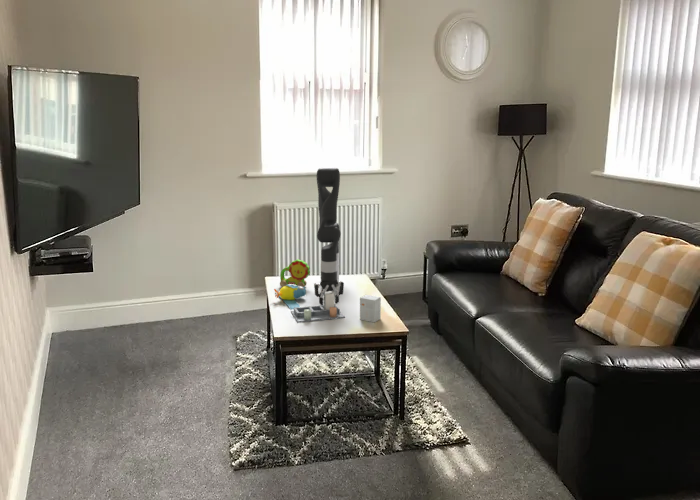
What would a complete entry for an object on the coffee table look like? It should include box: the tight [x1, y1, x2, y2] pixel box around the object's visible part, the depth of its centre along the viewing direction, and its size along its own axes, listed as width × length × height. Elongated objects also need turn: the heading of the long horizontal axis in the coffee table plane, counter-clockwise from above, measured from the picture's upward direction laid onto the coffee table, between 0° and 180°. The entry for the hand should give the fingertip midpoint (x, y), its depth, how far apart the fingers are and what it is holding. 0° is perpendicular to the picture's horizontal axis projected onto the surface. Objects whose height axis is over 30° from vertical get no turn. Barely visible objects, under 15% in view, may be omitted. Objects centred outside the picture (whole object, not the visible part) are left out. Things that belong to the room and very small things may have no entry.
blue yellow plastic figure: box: [273, 284, 307, 311], centre depth 309 cm, size 28×9×15 cm
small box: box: [359, 294, 382, 323], centre depth 283 cm, size 8×6×10 cm
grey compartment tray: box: [290, 303, 346, 324], centre depth 288 cm, size 14×22×5 cm, turn 107°
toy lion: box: [279, 258, 311, 288], centre depth 329 cm, size 16×5×15 cm, turn 76°
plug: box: [323, 291, 335, 310], centre depth 291 cm, size 4×4×9 cm
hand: (329, 304), depth 291 cm, fingers open, 6 cm apart
